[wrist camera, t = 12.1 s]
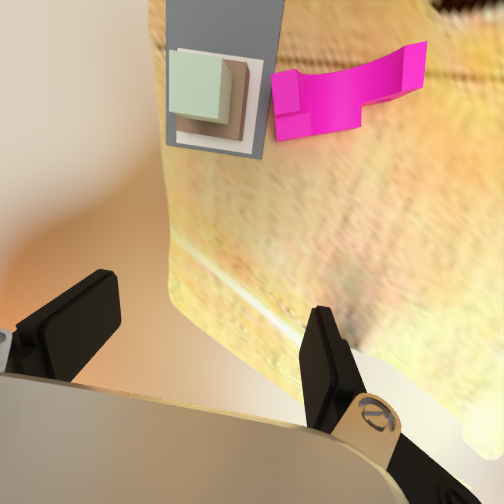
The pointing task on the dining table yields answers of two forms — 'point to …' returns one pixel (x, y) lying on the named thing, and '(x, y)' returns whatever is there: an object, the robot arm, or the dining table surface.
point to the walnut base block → (235, 114)
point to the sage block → (199, 87)
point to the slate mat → (231, 48)
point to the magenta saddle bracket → (342, 93)
